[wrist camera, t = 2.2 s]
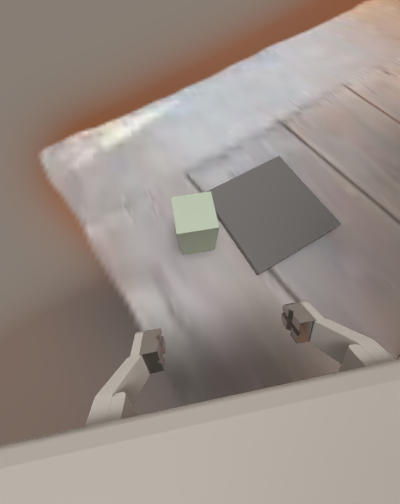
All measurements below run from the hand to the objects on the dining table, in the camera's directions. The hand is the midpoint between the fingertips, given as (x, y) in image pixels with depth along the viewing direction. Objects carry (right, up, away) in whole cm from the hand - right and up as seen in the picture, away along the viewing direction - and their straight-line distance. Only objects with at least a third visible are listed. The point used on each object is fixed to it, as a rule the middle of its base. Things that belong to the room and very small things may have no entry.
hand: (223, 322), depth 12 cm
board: (+10, +12, +19) cm, 24 cm away
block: (-2, +7, +17) cm, 19 cm away
